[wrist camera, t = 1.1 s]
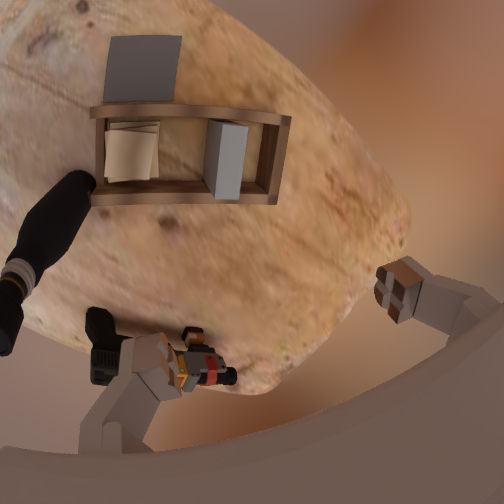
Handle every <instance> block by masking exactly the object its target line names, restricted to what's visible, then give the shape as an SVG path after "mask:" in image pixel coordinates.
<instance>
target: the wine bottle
mask: <svg viewBox="0 0 504 504" xmlns="http://www.w3.org/2000/svg"><path fill="white" fill-rule="evenodd" d="M95 188H96V182H95V180H94V178H93V177H92V176H91V175H90V174H89V173H87V172H85V171H82V170H75V171H72V172H70V173H68V174H67V175H66V176H65V177H64V178H63V179H62V180H60V181H59V182H58V183H57V184H56V185H55V186H54V187H53V188H52V189H51V190H50V191H49V192H48V193H47V194H46V195H45V196H44V197H43V198H42V199H41V200H40V201H39V202H38V203H37V204H36V205H35V206H34V207H33V208H32V209H31V210H30V211H29V212H28V213H27V215H26V217H25V219H24V221H23V224H22V226H21V228H20V231H19V234H18V239H17V244H16V247H15V248H14V249H13V251H12V252H11V254H10V255H9V256H8V258H7V260H6V263H5V267H4V268H3V269H2V272H1V277H0V356H2V357H3V356H8V355H9V354H10V353H12V350H13V347H14V344H15V341H16V338H17V335H18V332H19V329H20V327H21V324H22V321H23V319H24V313H23V310H22V307H21V304H22V303H23V301H24V300H25V299H26V298H27V297H28V296H29V295H31V292H32V290H33V289H34V288H35V287H36V286H37V285H38V283H39V281H40V279H41V277H42V274H43V272H44V270H46V269H47V268H49V267H50V266H52V265H53V264H55V263H56V262H57V261H58V260H59V259H60V258H61V257H62V256H63V255H64V254H65V253H66V252H67V251H68V249H69V247H70V245H71V244H72V242H73V240H74V238H75V236H76V234H77V232H78V230H79V228H80V226H81V224H82V222H83V221H84V219H85V217H86V215H87V213H88V212H89V210H90V208H91V197H90V195H91V194H92V192H93V191H94V189H95Z"/></svg>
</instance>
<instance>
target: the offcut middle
mask: <svg viewBox="0 0 504 504" xmlns="http://www.w3.org/2000/svg"><path fill="white" fill-rule="evenodd" d="M118 129H126V130H139V131H150V132H157V133H156V138H155V144H154V150H153V156H152V163H151V170H150V177H149V178H154V177H159V162H158V124H154V125H143V126H134V127H126V128H118ZM108 135H109V130H107V131H105V146H106V151H107V143H108ZM108 180H109V183H111V182H119V181H127V180H135V179H128V178H113V177H108Z"/></svg>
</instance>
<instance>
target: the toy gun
mask: <svg viewBox="0 0 504 504" xmlns="http://www.w3.org/2000/svg"><path fill="white" fill-rule="evenodd" d="M85 332H86V334H87V336H88V338H89V339H90V341H91V342H92V344H93V348H92V349H91V364H90V379H91V382H92V384H95V385H102V386H108V385H109V383H110V382H111V381H112V379H113V378H114V377H115V376H118V373H119V363H120V354H121V346H122V342H123V341H124V340H126V339H131V338H133V337H128V336H123V335H117V334H116V331H115V322H114V319H113V316H112V315H111V314H110V313H109V312H108V311H107V310H106V309H102V308H98V307H91V308H90V309H88V312H87V313H86V323H85ZM202 334H203V329H202V328H198V327H186V328H185V330H184V333H183V335H182V340H183V341H185V345H186V348H188V350H187V351H176V350H174V349H173V350H174V352H175V355H176V357H177V361H178V365H179V373H178V375H177V377H178V379H179V381H180V384H181V388H182V390H183V391H184V392H192V391H193V389H194V387H195V386H196V385H200V386H210V385H218V384H223V385H230V386H234V384H236V381H237V372H236V369H235V368H233V367H226V364H225V362H224V359H223V357H221V356H220V355H218V354H217V353H216V352H215V350H214V348H210V347H209V346H208V345H205V344H203V342H204V338H203V335H202ZM168 346H170V347H172V346H171V344H170V343H168Z"/></svg>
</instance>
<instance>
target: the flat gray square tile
mask: <svg viewBox="0 0 504 504" xmlns="http://www.w3.org/2000/svg"><path fill="white" fill-rule="evenodd" d="M181 39H182V36H170V35H136V36H116V37H111V43H110V49H109V55H108V62H107V69H106V77H105V86H104V96H103V103H104V102H121V101H173V94H174V86H175V78H176V71H177V64H178V57H179V51H180V45H181Z"/></svg>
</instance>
